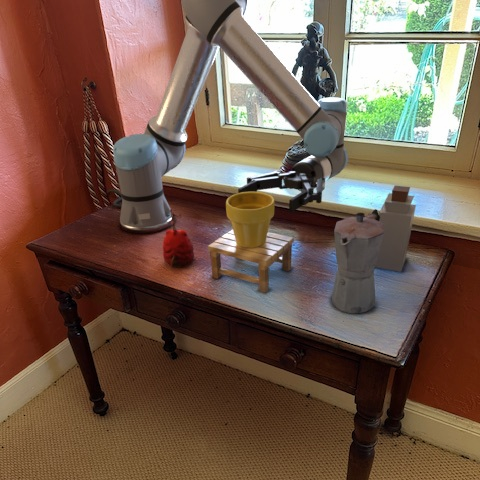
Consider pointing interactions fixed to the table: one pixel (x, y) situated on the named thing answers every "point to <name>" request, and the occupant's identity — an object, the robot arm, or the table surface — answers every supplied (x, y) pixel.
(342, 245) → the moka pot
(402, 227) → the perfume bottle
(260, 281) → the plant rack
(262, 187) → the robot arm
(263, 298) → the table surface
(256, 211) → the flower pot
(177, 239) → the red clay folk toy
